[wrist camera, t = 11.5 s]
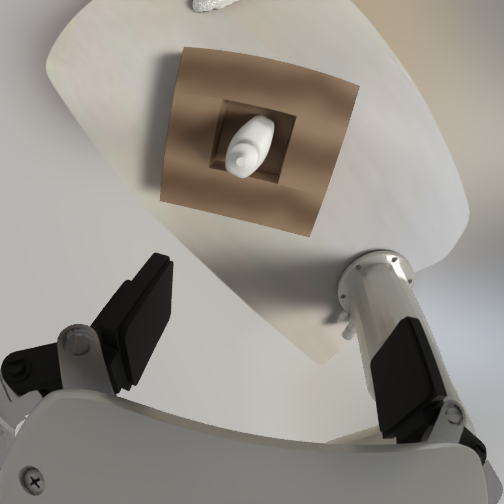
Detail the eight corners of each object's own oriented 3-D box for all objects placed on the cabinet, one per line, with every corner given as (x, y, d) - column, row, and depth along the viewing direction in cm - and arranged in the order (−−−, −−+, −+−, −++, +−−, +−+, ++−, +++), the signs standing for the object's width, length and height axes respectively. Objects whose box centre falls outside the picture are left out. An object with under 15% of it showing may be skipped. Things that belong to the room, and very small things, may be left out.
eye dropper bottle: (224, 135, 30) (193, 158, 20) (265, 109, 28) (256, 117, 18) (245, 165, 32) (226, 203, 22) (286, 141, 30) (289, 167, 20)
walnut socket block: (306, 220, 36) (309, 237, 32) (172, 188, 35) (159, 200, 31) (349, 87, 26) (359, 86, 22) (196, 52, 25) (183, 46, 22)
